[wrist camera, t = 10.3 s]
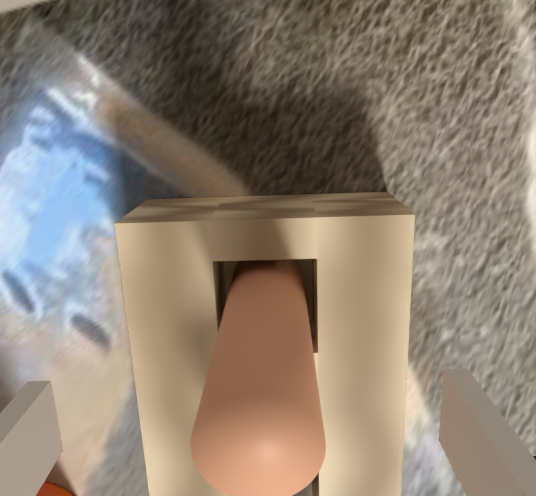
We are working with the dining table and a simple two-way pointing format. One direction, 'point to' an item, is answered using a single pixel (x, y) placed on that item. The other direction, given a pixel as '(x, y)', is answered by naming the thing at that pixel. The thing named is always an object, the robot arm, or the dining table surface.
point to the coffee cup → (53, 490)
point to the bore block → (319, 312)
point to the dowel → (261, 388)
